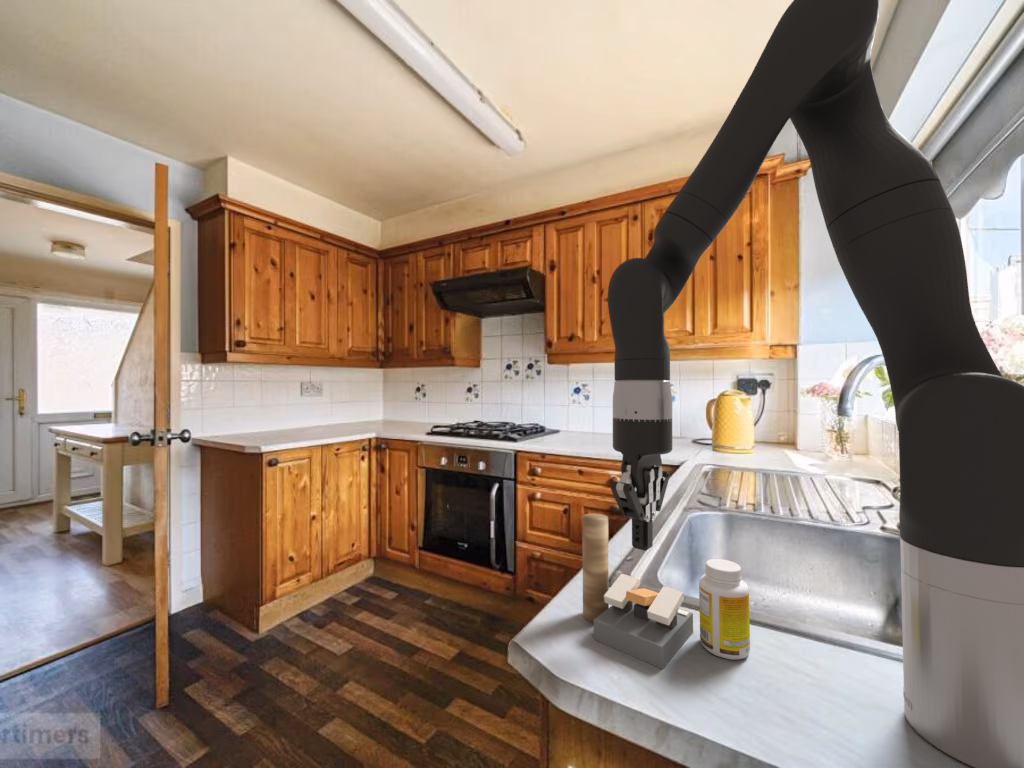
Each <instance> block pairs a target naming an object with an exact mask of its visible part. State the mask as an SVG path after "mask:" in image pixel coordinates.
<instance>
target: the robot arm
mask: <svg viewBox="0 0 1024 768" xmlns="http://www.w3.org/2000/svg"><path fill="white" fill-rule="evenodd" d="M879 16H880V0H793V1H791V3H790V4H789V6H788V7H787V8H786V10H785V11H784V12H783V14H782V16H781V17H780V19H779V21H778V22H777V24H776V25H775V28H774V29H773V32H772V33H771V35H770V37H769V39H768V41H767V43H766V45H765V47H764V49H763V50H762V53H761V54H760V56H759V59H758V60H757V63H756V64H755V66H754V69H753V70H752V72H751V74H750V76H749V78H748V79H747V81H746V83H745V85H744V87H743V88H742V90H741V92H740V93H739V95H738V98H737V99H736V101H735V103H734V105H733V106H732V107H731V110H730V111H729V113H728V115H727V117H726V119H725V120H724V122H723V124H722V125H721V127H720V129H719V130H718V132H717V133H716V135H715V137H714V138H713V141H711V143H710V146H709V147H708V149H706V152H705V153H704V155H703V156H702V157H701V159H700V161H699V162H698V164H697V165H696V167H695V168H694V170H693V171H692V173H691V174H690V175H689V177H688V179H687V180H686V181H685V183H684V184H683V185H682V187H681V188H680V189H679V191H678V192H677V193H676V195H675V197H674V198H673V200H672V201H671V202H670V203H669V205H668V207H667V208H666V210H665V211H664V212H663V214H662V215H661V217H660V218H659V220H658V222H657V223H656V225H655V227H654V229H653V243H652V245H651V248H649V251H648V253H647V254H646V256H645V257H644V258H643V257H632V258H630V259H627V260H625V261H623V262H621V263H620V264H619V265H618V266H617V267H616V268H615V270H614V271H613V273H612V274H611V277H610V280H609V282H608V288H607V307H608V314H609V321H610V322H609V323H610V327H611V328H610V329H611V334H612V339H613V343H614V349H615V350H614V359H613V360H614V384H613V385H614V386H613V393H612V448H613V450H615V451H616V452H618V453H621V455H622V459H621V465H620V472H621V477H620V479H619V480H618V481H615V480H613V481H611V483H610V490H611V492H612V495H613V497H614V499H615V502H616V504H617V506H618V508H619V510H620V513H621V515H622V516H623V517H626V518H629V519H631V545H632V547H633V548H634V549H637V550H642V551H648V550H649V549H651V548H653V543H654V541H653V537H654V535H653V529H654V528H653V527H654V526H653V525H654V523H653V520H654V519H655V518H656V514H657V512H661V509H662V505H663V501H664V498H665V495H666V492H667V487H668V483H669V480H670V475H671V474H670V471H669V470H663V467H662V464H663V463H662V460H663V459H662V457H661V456H662V455H666V454H670V453H672V451H673V395H672V386H671V355H670V354H671V351H670V345H669V342H668V340H667V338H666V336H665V335H666V334H665V332H664V313H666V312H667V310H669V309H670V308H671V306H672V305H673V304H674V302H675V301H676V300H677V298H678V297H679V296H680V294H681V292H682V291H683V289H684V287H685V286H686V283H687V282H688V280H689V278H690V277H691V275H692V273H693V271H694V270H695V268H696V266H697V264H698V262H699V260H700V258H701V257H702V255H703V254H704V253H705V252H706V251H707V249H709V247H710V246H711V245H712V243H713V242H714V241H715V240H716V238H717V236H718V235H719V234H720V233H721V232H722V230H723V229H724V227H725V226H726V225H727V224H728V222H729V220H730V219H731V218H732V217H733V215H734V214H735V212H736V211H737V209H738V208H739V207H740V205H741V204H742V202H743V200H744V198H745V197H746V195H747V193H748V191H749V190H750V188H751V186H752V185H753V182H754V181H755V179H756V177H757V175H758V173H759V171H760V169H761V167H762V165H763V163H764V161H765V160H766V158H767V156H768V154H769V152H770V150H771V148H772V146H773V145H774V143H775V141H776V140H777V138H778V136H779V135H780V134H781V131H782V130H783V129H784V127H785V126H786V124H787V122H788V121H789V120H790V121H791V123H792V125H793V127H794V129H795V130H796V132H797V135H798V136H799V138H800V140H801V142H802V144H803V146H804V147H803V148H804V149H805V151H806V154H807V156H808V159H809V163H810V167H811V173H812V177H813V181H814V182H813V183H814V188H815V191H816V194H817V199H818V203H819V207H820V210H821V213H822V216H823V220H824V224H825V227H826V230H827V233H828V236H829V239H830V242H831V244H832V248H833V250H834V253H835V256H836V259H837V262H838V264H839V266H840V269H841V270H842V272H843V275H844V277H845V279H846V281H847V283H848V286H849V287H850V290H851V291H852V294H853V295H854V298H855V299H856V301H857V304H858V305H859V307H860V309H861V311H862V313H863V314H864V316H865V318H866V320H867V321H868V323H869V325H870V327H871V328H872V332H873V333H874V335H875V338H876V339H877V342H878V344H879V347H880V350H881V353H882V357H883V360H884V365H885V368H886V372H887V376H888V381H889V385H890V390H891V391H890V392H891V396H892V400H893V405H894V412H895V413H894V414H895V423H896V428H897V431H898V456H899V457H898V458H899V459H898V460H899V489H900V490H899V491H900V492H899V493H900V494H899V509H898V510H899V511H898V512H899V514H898V516H899V517H898V518H899V535H900V536H899V538H900V539H899V541H900V543H899V544H900V574H901V575H900V577H901V578H900V579H901V583H900V584H901V585H900V586H901V589H900V590H901V624H902V626H901V630H902V631H901V632H902V666H903V667H902V670H903V687H902V688H903V689H902V690H903V691H902V693H903V704H904V705H903V708H904V710H903V711H904V716H905V718H906V720H907V722H908V723H909V725H910V726H911V728H912V729H914V731H916V732H917V734H919V736H921V737H923V738H924V739H925V740H926V741H927V742H928V743H930V744H931V745H933V746H934V747H936V748H937V749H939V750H940V751H941V752H944V753H945V754H947V755H949V756H951V757H952V758H954V759H956V760H958V761H959V762H961V763H965V764H966V765H968V766H971V767H973V768H1024V385H1022V384H1021V383H1019V382H1017V381H1014V380H1012V379H1011V378H1010V379H1009V378H1007V377H1004V376H1003V375H1002V373H1001V372H1000V370H999V368H998V366H997V365H996V363H995V361H994V359H993V357H992V355H991V354H990V351H989V350H988V347H987V346H986V343H985V341H984V340H983V338H982V336H981V334H980V331H979V329H978V326H977V324H976V321H975V318H974V315H973V311H972V306H971V300H970V292H969V291H970V290H969V284H968V282H969V281H968V273H967V266H966V259H965V258H966V257H965V253H964V248H963V243H962V237H961V231H960V229H959V225H958V222H957V218H956V216H955V213H954V210H953V207H952V205H951V203H950V200H949V199H948V196H947V195H948V194H947V193H946V190H945V188H944V187H943V183H942V182H941V178H940V177H939V175H938V173H937V171H936V170H935V168H934V167H933V165H932V163H931V162H930V160H929V159H928V158H927V156H925V154H924V153H923V152H922V151H921V150H920V149H919V148H918V147H917V146H915V144H913V143H912V142H911V141H910V140H909V139H907V137H905V136H904V135H903V134H902V133H901V132H899V130H897V129H896V128H895V126H894V125H893V124H892V123H891V122H890V120H889V118H888V117H887V115H886V113H885V111H884V108H883V105H882V103H881V100H880V99H881V98H880V96H879V93H878V89H877V86H876V82H875V78H874V73H873V67H872V51H873V46H874V45H873V44H874V40H875V35H876V31H877V28H878V22H879Z"/></svg>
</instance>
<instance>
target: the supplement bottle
mask: <svg viewBox="0 0 1024 768" xmlns="http://www.w3.org/2000/svg"><path fill="white" fill-rule="evenodd" d="M704 571H705V573H704V574H703V575H701V576H700V577H699V579H698V593H699V595H698V597H699V598H698V601H699V639H700V642H701V645H702V647H704V649H705V650H706V651H708V652H709V653H711V654H713V655H714V656H717V657H719V658H723V659H726V660H734V661H735V660H742V659H745V658H747V657H748V656H749V654H750V651H751V631H750V630H751V629H750V628H751V627H750V624H751V623H750V591H749V586H748V585H747V583H746V582H745V581H744V580H743V578H742V567H741V566H740V565H739V564H737V563H736V562H734V561H731V560H728V559H722V558H721V559H720V558H719V559H718V558H711V559H708V560H707V561H705V570H704Z"/></svg>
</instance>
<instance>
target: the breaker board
mask: <svg viewBox="0 0 1024 768" xmlns="http://www.w3.org/2000/svg"><path fill="white" fill-rule="evenodd" d="M648 609H649V606H643V605H640V604H637V603H634V602H632V601H628V602H627V604H626V605H625V607H624V608H623V609H621V608H619V607H616V606H613V605H611V606H610V607H609V608H608V609H607V610H606V611H604V612H603V613H602V614H600V615H599V616H598V617H596V618H595V619H594V623H593V640H595V641H597V642H599V643H601V644H605V646H609V647H611V648H613V649H616V650H618V651H620V652H623V653H624V654H627V655H629V656H632V657H633V658H636V659H637V660H638V659H639V660H641V661H643V662H645V663H648V664H650V665H652V666H655V667H656V668H659V669H661V670H663V669H664V668H665V667H666V665H667V664H668V663H669V662H670V661H671V660H672V658H673V657H674V656H675V655H676V654H677V653H678V651H679V650H681V648H682V647H683V646H684V644H685V643H686V642H687V641H688V640H689V638H690V637H691V636H692V634H693V633H694V613H693V612H690V611H689V610H688V611H687V610H684V609H681V608H679V609H678V615H677V616H674V618H673V620H672V621H671V623H670V625H669V626H668V625H666V624H663V623H660V622H657V621H655V620H652V619H649V618H648V614H647V610H648Z"/></svg>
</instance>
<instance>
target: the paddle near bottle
mask: <svg viewBox="0 0 1024 768" xmlns="http://www.w3.org/2000/svg"><path fill="white" fill-rule="evenodd" d="M658 593H659V594H658V595H657V597H656V598H655V600H654V601H653V603H652V604H651V606H650V607H649V609H648V610H647V614H648V618H649V619H652V620H655V621H657V622H660V623H663V624H666V625H668V626H669V625H670V623H671V621H672V620H673V618H674V616H677V615H678V609H680V608H681V605H682V604H683V602H684V600H685V596H684V595H685V594H684V591H681V590H677V589H674V588H672V587H668V586H665V585H663V586H662V587H661V589H660V590H659V592H658Z"/></svg>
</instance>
